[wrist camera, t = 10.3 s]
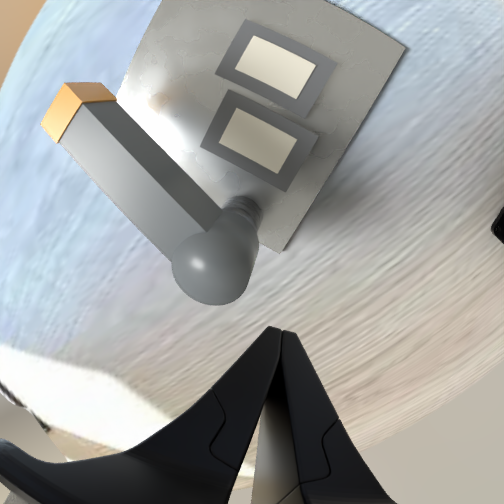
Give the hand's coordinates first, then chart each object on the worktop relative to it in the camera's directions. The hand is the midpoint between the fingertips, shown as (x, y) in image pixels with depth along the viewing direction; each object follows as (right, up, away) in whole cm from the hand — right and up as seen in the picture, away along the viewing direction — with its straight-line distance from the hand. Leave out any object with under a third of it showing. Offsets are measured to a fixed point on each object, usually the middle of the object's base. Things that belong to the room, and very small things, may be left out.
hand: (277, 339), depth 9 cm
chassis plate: (-2, +12, +9) cm, 15 cm away
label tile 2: (0, +9, +10) cm, 13 cm away
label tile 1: (+1, +13, +8) cm, 15 cm away
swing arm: (-5, +6, +7) cm, 11 cm away
